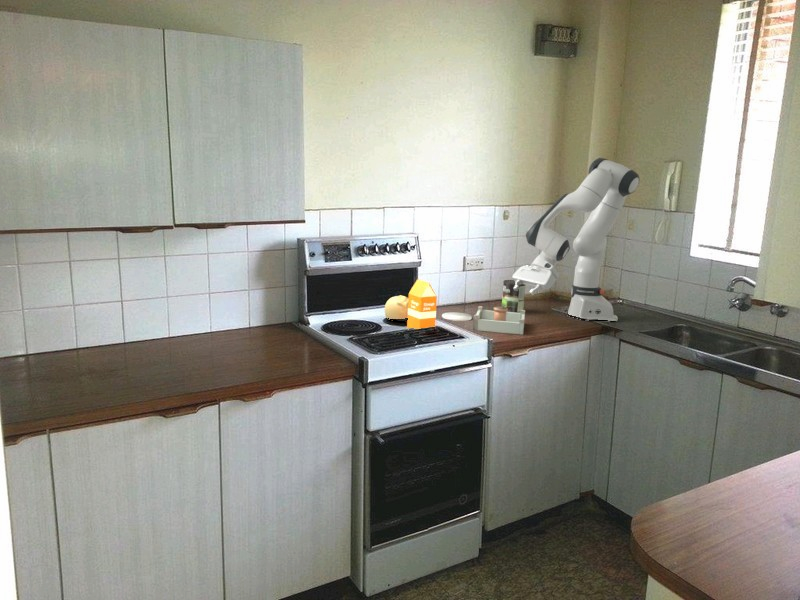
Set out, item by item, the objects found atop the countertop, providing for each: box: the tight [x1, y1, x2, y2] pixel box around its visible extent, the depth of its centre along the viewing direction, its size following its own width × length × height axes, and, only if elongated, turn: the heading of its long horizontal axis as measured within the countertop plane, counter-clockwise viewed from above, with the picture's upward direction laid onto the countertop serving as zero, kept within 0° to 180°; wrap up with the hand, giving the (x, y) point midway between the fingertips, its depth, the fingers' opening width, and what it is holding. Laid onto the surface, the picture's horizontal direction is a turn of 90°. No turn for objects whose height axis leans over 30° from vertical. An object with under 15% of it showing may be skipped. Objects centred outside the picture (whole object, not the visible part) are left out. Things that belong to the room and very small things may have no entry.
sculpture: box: [384, 294, 409, 320], centre depth 284 cm, size 11×12×11 cm
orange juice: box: [406, 279, 438, 329], centre depth 267 cm, size 8×9×20 cm
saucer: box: [441, 311, 473, 322], centre depth 295 cm, size 13×13×1 cm
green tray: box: [472, 305, 526, 335], centre depth 281 cm, size 20×20×6 cm
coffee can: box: [501, 279, 526, 313], centre depth 312 cm, size 10×10×14 cm
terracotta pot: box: [493, 306, 508, 321], centre depth 281 cm, size 6×6×8 cm
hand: (523, 291), depth 286 cm, fingers open, 8 cm apart
